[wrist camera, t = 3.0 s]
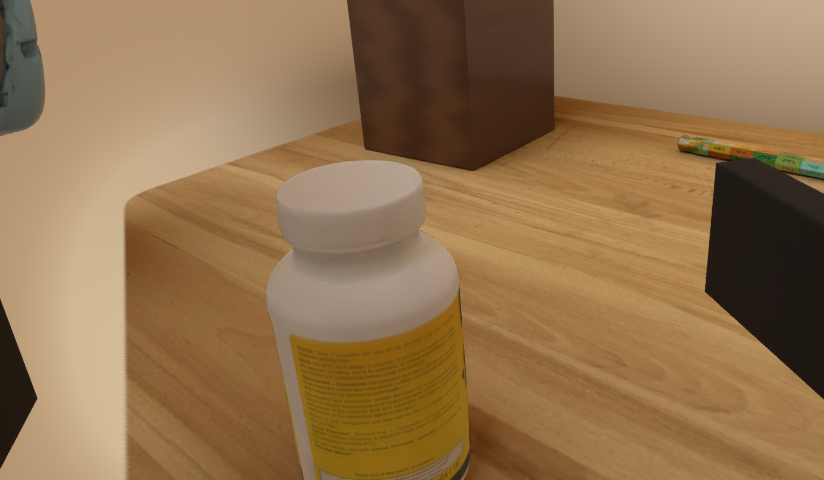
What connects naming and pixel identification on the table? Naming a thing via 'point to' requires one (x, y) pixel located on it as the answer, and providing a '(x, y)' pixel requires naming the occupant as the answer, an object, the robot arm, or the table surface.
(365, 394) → the pill bottle
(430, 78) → the tall brown block
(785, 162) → the pencil
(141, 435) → the table surface
